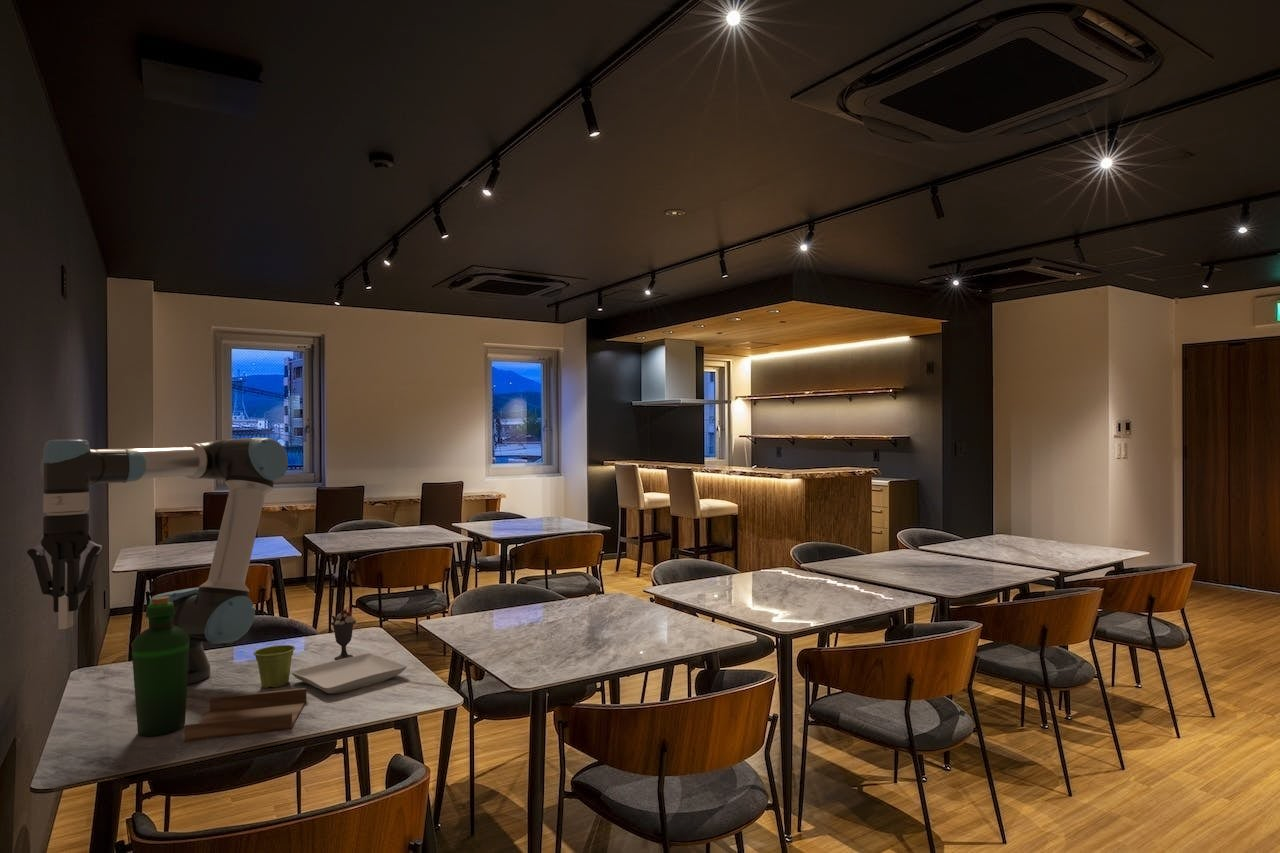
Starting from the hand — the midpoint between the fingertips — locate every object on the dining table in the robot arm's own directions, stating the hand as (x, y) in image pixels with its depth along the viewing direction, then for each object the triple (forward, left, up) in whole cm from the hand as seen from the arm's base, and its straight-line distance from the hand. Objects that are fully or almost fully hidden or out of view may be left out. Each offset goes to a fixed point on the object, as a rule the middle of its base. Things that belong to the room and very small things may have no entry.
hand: (65, 627), depth 150 cm
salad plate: (-22, +52, -24) cm, 62 cm away
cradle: (0, +34, -23) cm, 41 cm away
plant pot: (-25, +34, -24) cm, 49 cm away
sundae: (-44, +48, -24) cm, 70 cm away
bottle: (0, +17, -24) cm, 29 cm away
